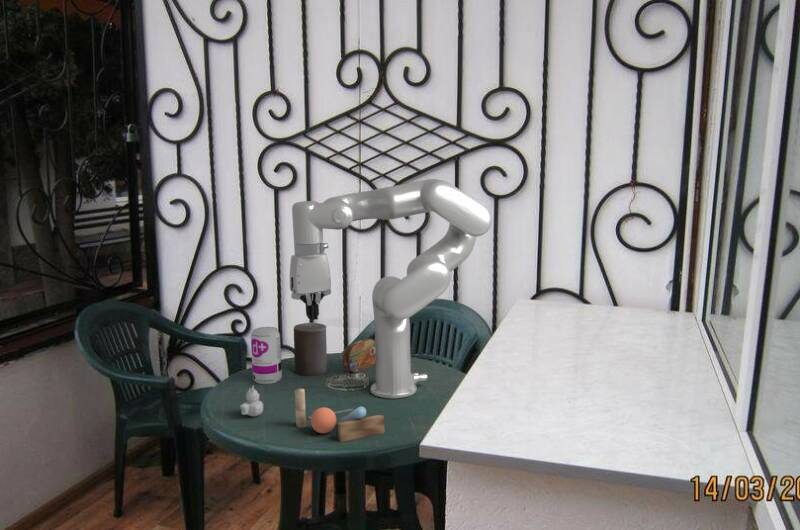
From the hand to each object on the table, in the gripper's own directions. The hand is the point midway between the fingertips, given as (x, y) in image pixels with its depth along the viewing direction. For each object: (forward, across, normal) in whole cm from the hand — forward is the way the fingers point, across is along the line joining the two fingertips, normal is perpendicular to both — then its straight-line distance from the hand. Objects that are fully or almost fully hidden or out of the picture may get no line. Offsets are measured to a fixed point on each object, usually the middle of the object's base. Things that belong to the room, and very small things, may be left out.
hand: (312, 318), depth 189 cm
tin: (+22, -21, -17) cm, 36 cm away
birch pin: (+22, +10, +15) cm, 29 cm away
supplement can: (+22, +6, -22) cm, 32 cm away
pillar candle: (+22, -8, -23) cm, 33 cm away
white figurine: (+22, +19, +3) cm, 29 cm away
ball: (+19, +7, +22) cm, 30 cm away
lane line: (+22, +1, +12) cm, 25 cm away
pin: (+21, +1, +21) cm, 30 cm away
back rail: (+22, 0, +28) cm, 36 cm away
